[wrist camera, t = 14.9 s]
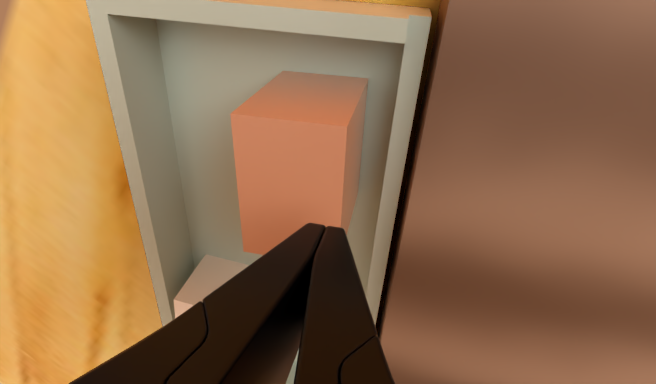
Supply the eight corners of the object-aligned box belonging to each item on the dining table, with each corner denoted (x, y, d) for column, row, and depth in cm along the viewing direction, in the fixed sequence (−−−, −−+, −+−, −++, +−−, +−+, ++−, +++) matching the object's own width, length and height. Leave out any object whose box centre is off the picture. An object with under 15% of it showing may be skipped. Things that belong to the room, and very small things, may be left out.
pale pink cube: (179, 364, 19) (207, 316, 21) (268, 389, 19) (286, 337, 21) (173, 299, 17) (205, 254, 19) (276, 326, 16) (295, 276, 19)
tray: (364, 374, 22) (357, 427, 20) (202, 339, 24) (176, 385, 21) (429, 8, 12) (432, 21, 10) (144, -17, 14) (83, -11, 11)
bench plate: (595, 423, 21) (620, 488, 18) (369, 375, 22) (363, 429, 20) (912, 7, 10) (1075, 24, 8) (445, -28, 12) (453, -24, 9)
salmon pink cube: (337, 267, 12) (243, 251, 12) (358, 192, 16) (285, 182, 16) (347, 126, 9) (230, 113, 10) (368, 78, 13) (283, 70, 14)
